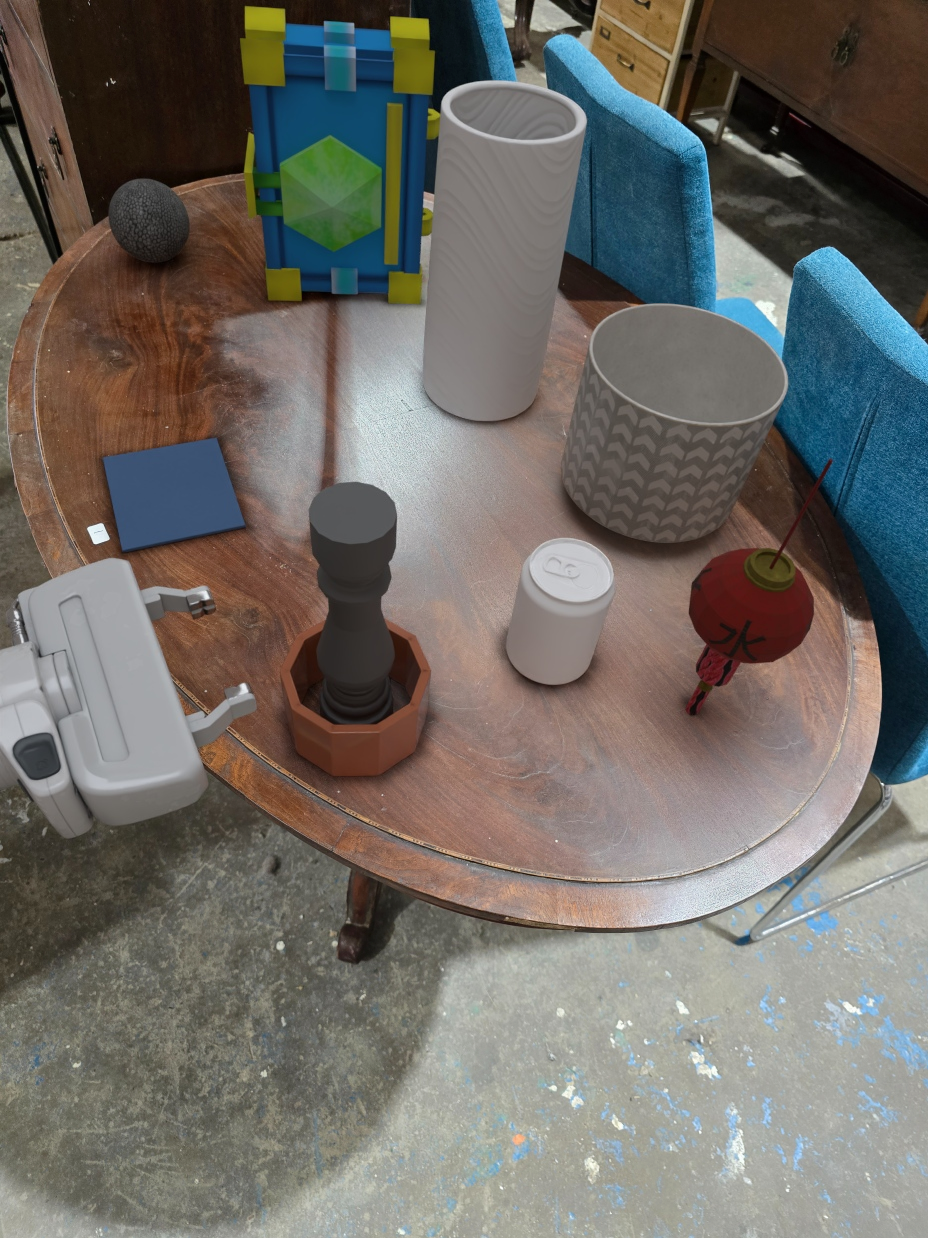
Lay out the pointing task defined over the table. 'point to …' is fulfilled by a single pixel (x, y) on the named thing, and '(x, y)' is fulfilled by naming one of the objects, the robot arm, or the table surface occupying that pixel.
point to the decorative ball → (149, 220)
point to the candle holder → (354, 600)
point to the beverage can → (559, 610)
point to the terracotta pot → (355, 744)
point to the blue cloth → (171, 494)
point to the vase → (497, 243)
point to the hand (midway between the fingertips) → (232, 645)
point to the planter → (669, 420)
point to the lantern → (748, 610)
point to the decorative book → (339, 153)
